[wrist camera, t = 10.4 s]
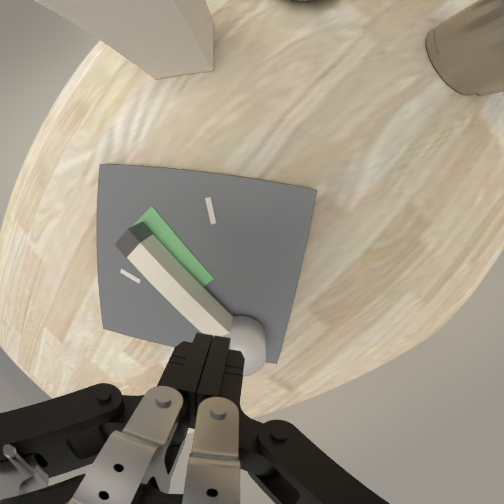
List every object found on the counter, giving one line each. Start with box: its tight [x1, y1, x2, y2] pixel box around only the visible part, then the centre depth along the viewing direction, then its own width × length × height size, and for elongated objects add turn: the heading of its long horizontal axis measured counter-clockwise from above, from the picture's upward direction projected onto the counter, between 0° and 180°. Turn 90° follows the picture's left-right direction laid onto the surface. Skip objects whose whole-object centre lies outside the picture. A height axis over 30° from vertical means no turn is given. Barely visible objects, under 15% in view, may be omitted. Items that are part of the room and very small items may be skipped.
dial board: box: [97, 164, 317, 364], centre depth 27 cm, size 21×19×2 cm
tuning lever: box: [115, 222, 266, 376], centre depth 25 cm, size 18×5×4 cm, turn 41°
